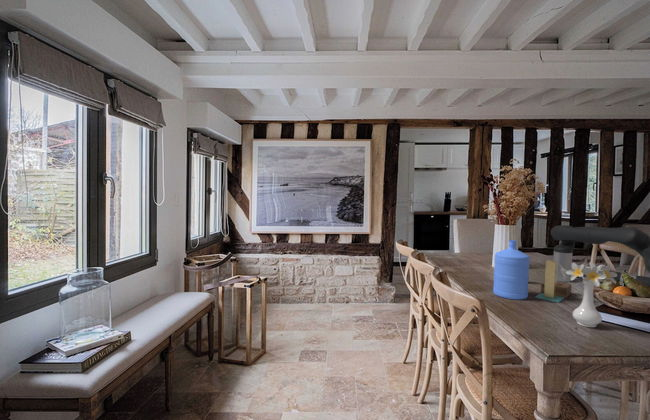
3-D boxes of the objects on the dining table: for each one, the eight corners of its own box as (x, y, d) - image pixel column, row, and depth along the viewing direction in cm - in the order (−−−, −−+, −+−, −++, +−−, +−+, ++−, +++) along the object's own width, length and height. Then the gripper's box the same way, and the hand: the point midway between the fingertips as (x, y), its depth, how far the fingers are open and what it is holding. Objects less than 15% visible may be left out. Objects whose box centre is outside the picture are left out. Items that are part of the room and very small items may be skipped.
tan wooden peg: (546, 295, 174) (548, 260, 173) (555, 297, 171) (557, 261, 170) (544, 296, 171) (545, 261, 170) (553, 298, 168) (555, 262, 167)
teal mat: (541, 294, 178) (541, 292, 178) (564, 298, 171) (564, 297, 171) (535, 297, 171) (535, 296, 171) (558, 302, 164) (559, 301, 164)
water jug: (533, 301, 166) (535, 243, 164) (497, 298, 169) (500, 242, 168) (521, 292, 181) (523, 239, 180) (489, 289, 184) (491, 238, 183)
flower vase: (554, 315, 147) (557, 257, 145) (608, 323, 139) (612, 261, 138) (560, 326, 135) (563, 263, 133) (620, 335, 127) (624, 268, 126)
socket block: (546, 289, 187) (547, 280, 187) (570, 293, 179) (571, 284, 179) (540, 293, 180) (541, 283, 179) (565, 298, 172) (566, 288, 171)
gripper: (625, 270, 157) (581, 263, 168) (620, 275, 147) (574, 268, 159) (623, 286, 157) (580, 279, 169) (619, 292, 147) (573, 284, 159)
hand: (577, 273), depth 164 cm, fingers open, 8 cm apart
